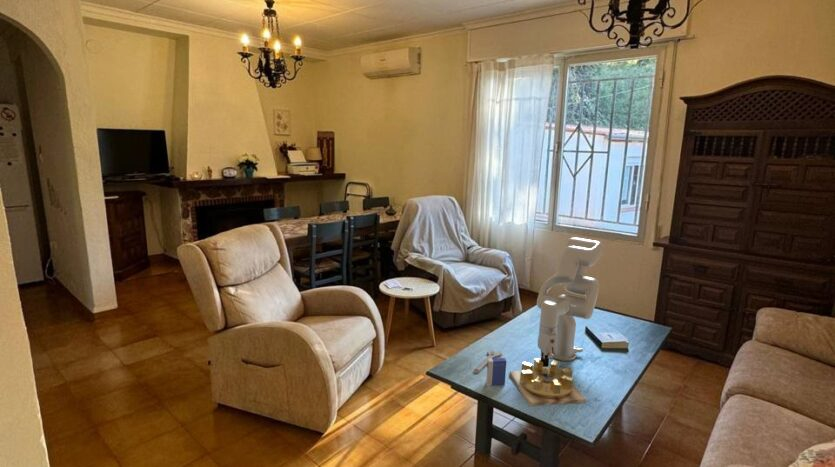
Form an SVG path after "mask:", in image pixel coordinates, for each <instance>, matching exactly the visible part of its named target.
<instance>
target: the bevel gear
mask: <svg viewBox="0 0 835 467" xmlns="http://www.w3.org/2000/svg"><path fill="white" fill-rule="evenodd" d="M559 366H560V361H557V360H555V359H554V360H552V361H551V362H550V366H548V367H543V361H542V360H541V357H536V358H534V363H530V362H527V361H523V362H522V363H521V370H520V371H521V374H520V384H521V385H522V387H523V388H524V389H525V390H527V391H528V392H530V393H531V394H534V395H536V396H539V397H542V398H548V399H561V398H565V397H567V396H569V395H570V394H571V393H572V390H573V385H574V378H573V372H574V371H573V370H572V368H569V367H568V368H565V367H564V368H559ZM558 369H560V370H561V371H559V370H558Z"/></svg>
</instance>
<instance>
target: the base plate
mask: <svg viewBox="0 0 835 467" xmlns="http://www.w3.org/2000/svg"><path fill="white" fill-rule="evenodd" d="M558 370H559V371H561V368H558ZM521 371H522V370H515V371H514V370H509V376H510V378H511V379H512V380H513V383H515V385H516V387H517V388H518V390H519V392H520V393H521V395H522V396H523V399H525V401H526V402H527V404H528V405H529V407H533V406H534V407H535V406H549V405H563V404H565V405H566V404H577V403H578V404H581V403H586V397H585V396H584V395H583V394H582V393H581V392H580V391H579V390H578V388H577V387H576V386H575V385H574V384H573V390H572V393H571V394H570V395H569V396H567V397H565V398H561V399H548V398H542V397H539V396H536V395H534V394H531V393H530V392H528V391H527V390H525V389H524V388H523V387H522V385H521V384H520V374H521Z"/></svg>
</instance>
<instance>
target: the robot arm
mask: <svg viewBox="0 0 835 467" xmlns="http://www.w3.org/2000/svg"><path fill="white" fill-rule="evenodd" d="M604 247H605V246H604V244H603V243H602V241H599V240H594V239H593V240H592V239H588V238H583V237H582V238H581V237H570V238H568V239H567V240H566V247H565V248H564V249H563V252H562V255H561V258H560V261H559V264H558V266H557V270H556V273H554V275H552V276H550V277H549V278H547V279H546V280H545V281H544V282H543V283H542V285H541V287H540V289H539V292H538V295H537V299H536V305H537V308H539V309H540V318H539V326H538V327H539V328H538V331H539V332H538V336H537V347H538V349H539V350H540V359H541V360H542V361H543V367H550V366H549V363H550V360H552V359H556V360H559V361H563V362H571V361H574V360H575V359H576V358H577V353H583V348H581V347H579V348H578V346H574V345H575V338H576V337H575V336H576V328H577V321H576V319H575V317H576V318H578V319H583V320H589V319H591V318H592V317H593V315H594V310H595V307H596V303H597V299H598V295H599V290H600V282H599V281H598V279H597V278H595V277H591V276H586V274H587V270H588V267H589V268H591V267H593V266H594V265H595V264H596V263H597V262H598V261H599V260H600V258H601V257H602V256H603V253H604V249H605V248H604ZM562 284H563V289H564V290H565V291H566V292H567V293H571V294H575V295H571V294H566V293H565V294H559V295H558V296H557V295H553V294H549V291H550V289H552V288H553V287H555V286H558V285H562ZM576 295H579V296H583V297H578V296H576ZM584 297H585V298H584Z"/></svg>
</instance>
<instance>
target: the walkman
mask: <svg viewBox="0 0 835 467" xmlns="http://www.w3.org/2000/svg"><path fill="white" fill-rule="evenodd" d="M506 370H507V359H506V358H505V357H498V358H488V362H487V365H486V379H485V381H486V386H487V387H492V386H494V387H495V386H497V387H498V386H506V383H505V382H506V372H507V371H506Z"/></svg>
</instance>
